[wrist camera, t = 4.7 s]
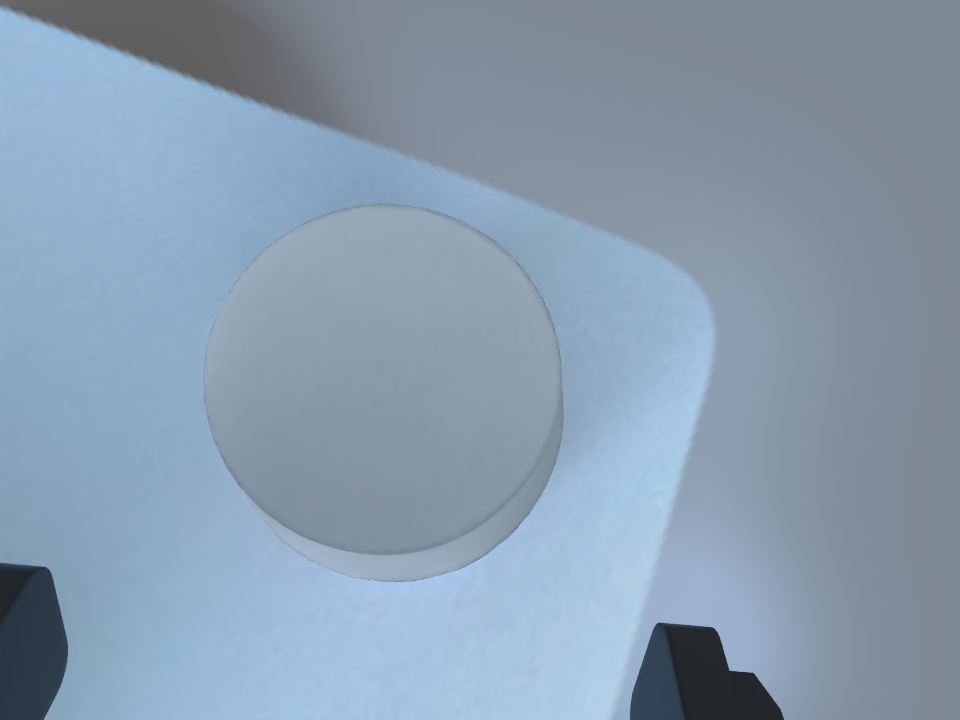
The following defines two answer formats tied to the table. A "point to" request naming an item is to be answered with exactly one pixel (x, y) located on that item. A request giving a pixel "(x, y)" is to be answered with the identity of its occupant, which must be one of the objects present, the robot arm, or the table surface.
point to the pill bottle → (386, 391)
